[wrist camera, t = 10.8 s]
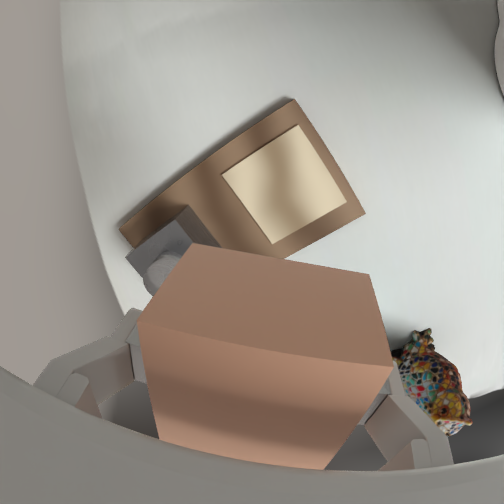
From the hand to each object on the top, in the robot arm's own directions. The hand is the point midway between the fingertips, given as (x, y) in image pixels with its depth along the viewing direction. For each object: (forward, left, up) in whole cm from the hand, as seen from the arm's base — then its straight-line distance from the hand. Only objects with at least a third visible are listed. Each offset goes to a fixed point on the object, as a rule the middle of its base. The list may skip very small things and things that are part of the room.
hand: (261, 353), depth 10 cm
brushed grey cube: (+12, 0, -20) cm, 23 cm away
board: (+6, 0, -21) cm, 22 cm away
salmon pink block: (0, 0, -2) cm, 2 cm away
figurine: (-3, +27, -21) cm, 34 cm away
